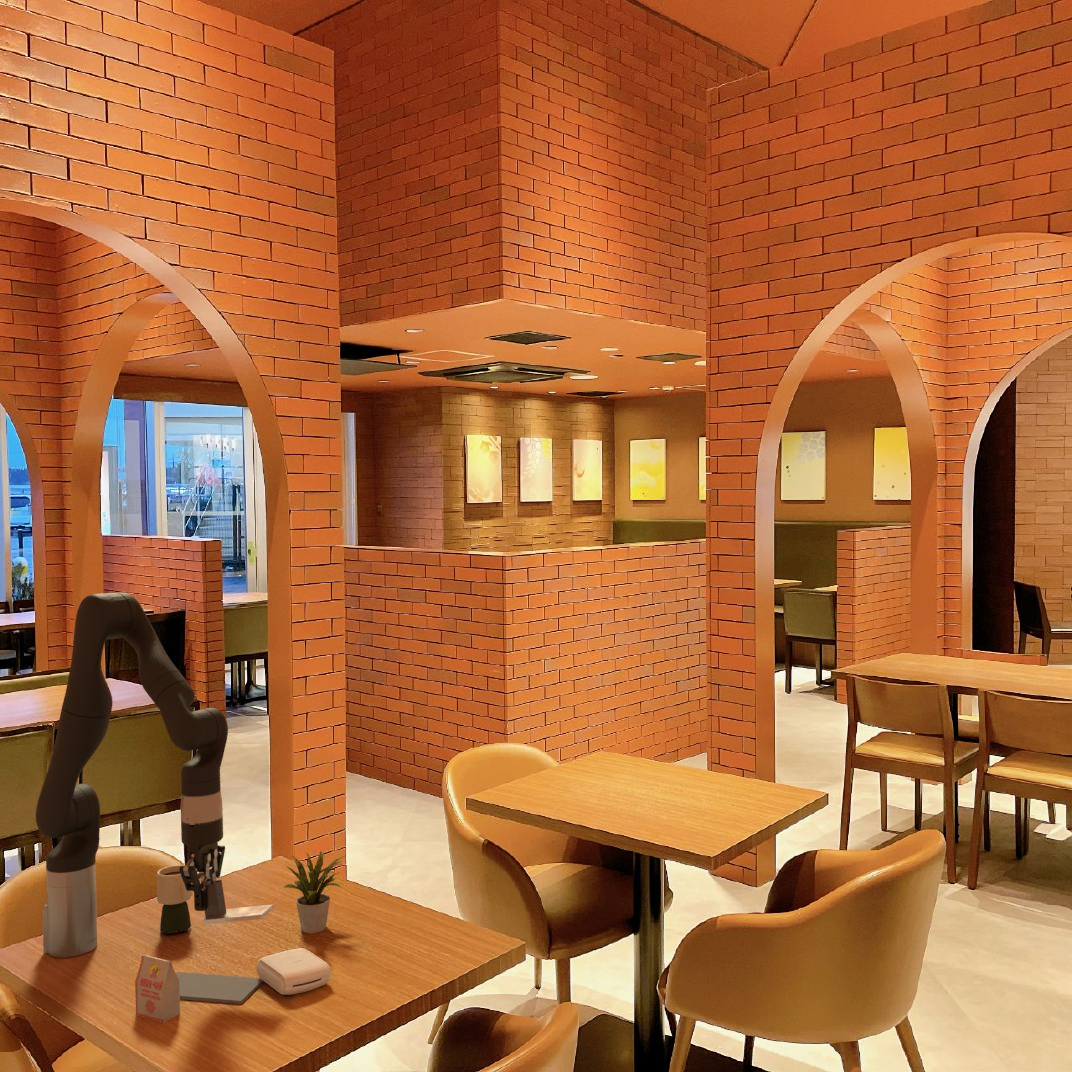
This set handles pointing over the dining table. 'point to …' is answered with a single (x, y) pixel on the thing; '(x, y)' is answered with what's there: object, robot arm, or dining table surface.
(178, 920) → the character mug
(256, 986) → the mat
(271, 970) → the photo printer
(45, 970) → the dining table surface
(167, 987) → the tea bag
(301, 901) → the house plant
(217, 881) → the grey l-shaped piece
